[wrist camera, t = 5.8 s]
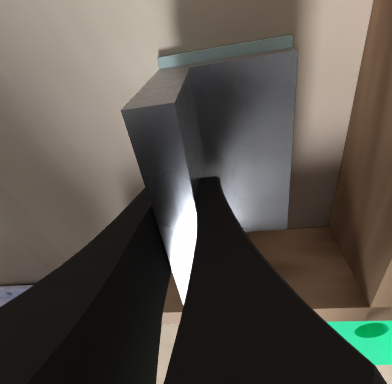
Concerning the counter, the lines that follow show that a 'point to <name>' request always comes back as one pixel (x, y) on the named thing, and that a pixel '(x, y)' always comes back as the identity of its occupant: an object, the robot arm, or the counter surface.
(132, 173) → the counter surface
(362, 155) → the corner walls
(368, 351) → the camera mount
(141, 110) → the bracket
